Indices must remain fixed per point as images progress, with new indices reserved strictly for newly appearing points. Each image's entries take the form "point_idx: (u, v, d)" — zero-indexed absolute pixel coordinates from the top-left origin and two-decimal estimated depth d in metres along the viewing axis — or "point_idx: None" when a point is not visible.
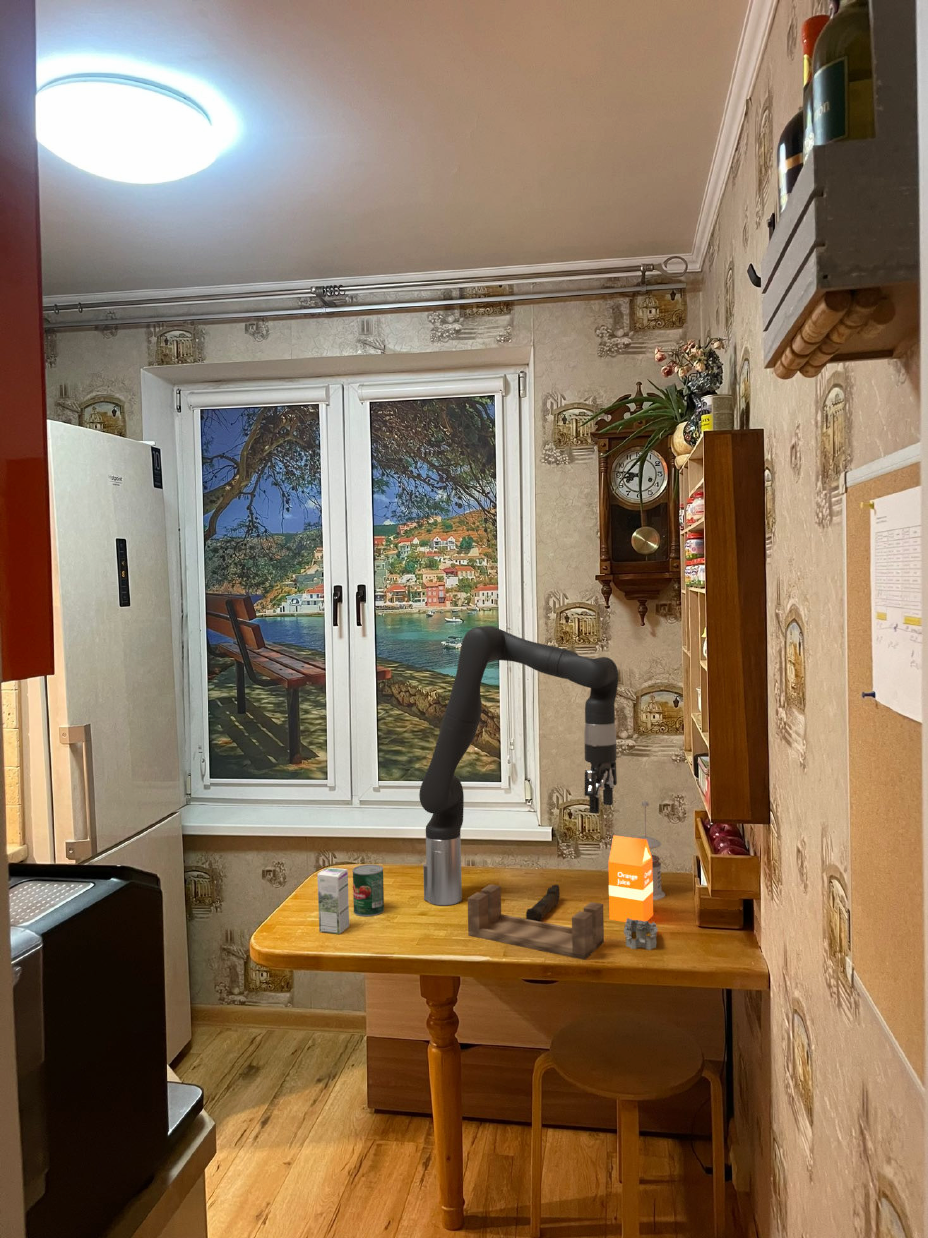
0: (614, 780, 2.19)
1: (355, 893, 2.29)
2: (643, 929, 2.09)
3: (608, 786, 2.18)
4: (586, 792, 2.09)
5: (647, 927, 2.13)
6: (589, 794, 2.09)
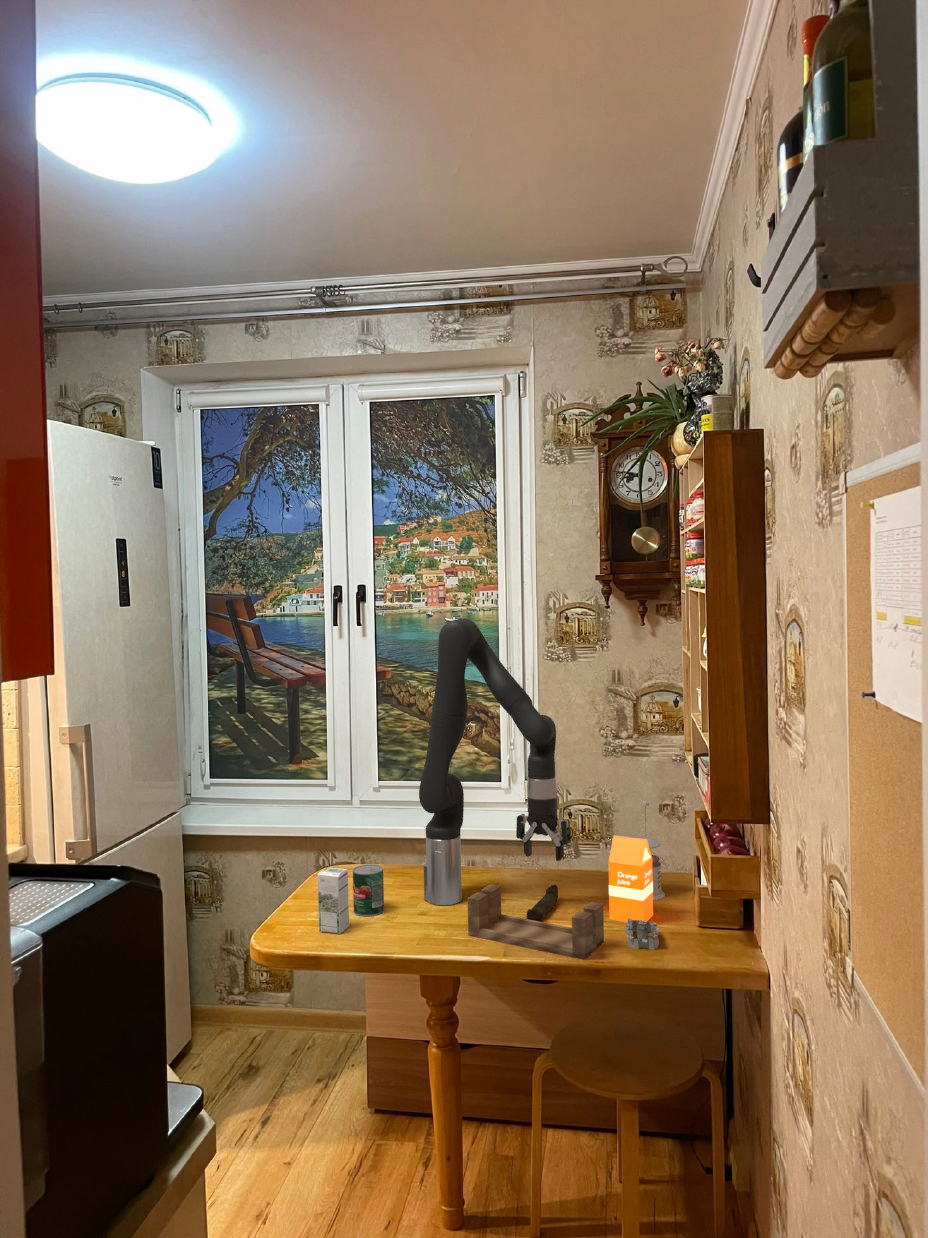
0: (524, 831, 2.32)
1: (355, 893, 2.29)
2: (644, 929, 2.09)
3: (529, 838, 2.31)
4: (567, 841, 2.24)
5: (648, 927, 2.13)
6: (568, 842, 2.25)
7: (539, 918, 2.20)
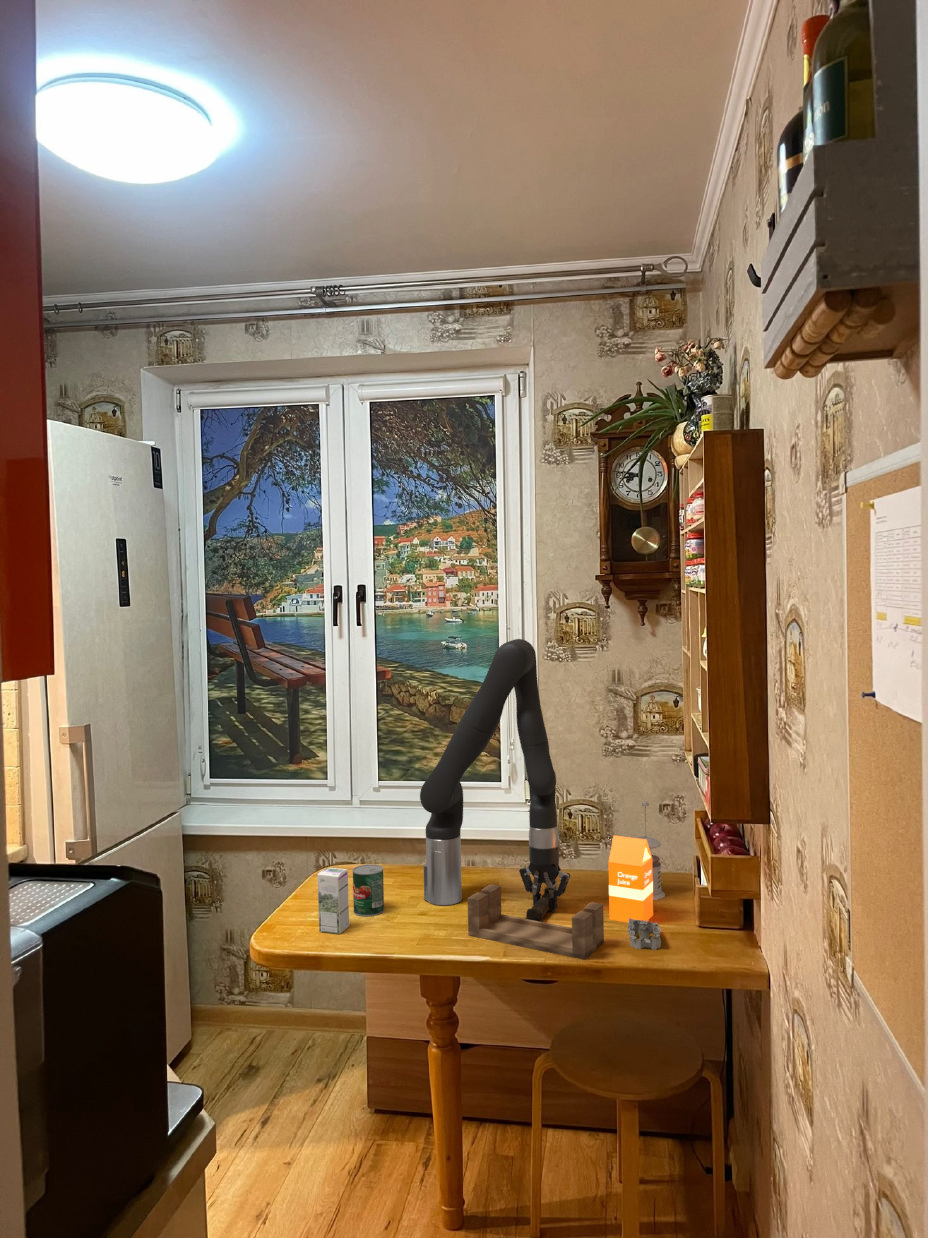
0: None
1: (355, 893, 2.29)
2: (646, 929, 2.09)
3: (538, 890, 2.30)
4: (561, 894, 2.26)
5: (649, 927, 2.14)
6: (562, 893, 2.27)
7: (539, 917, 2.20)
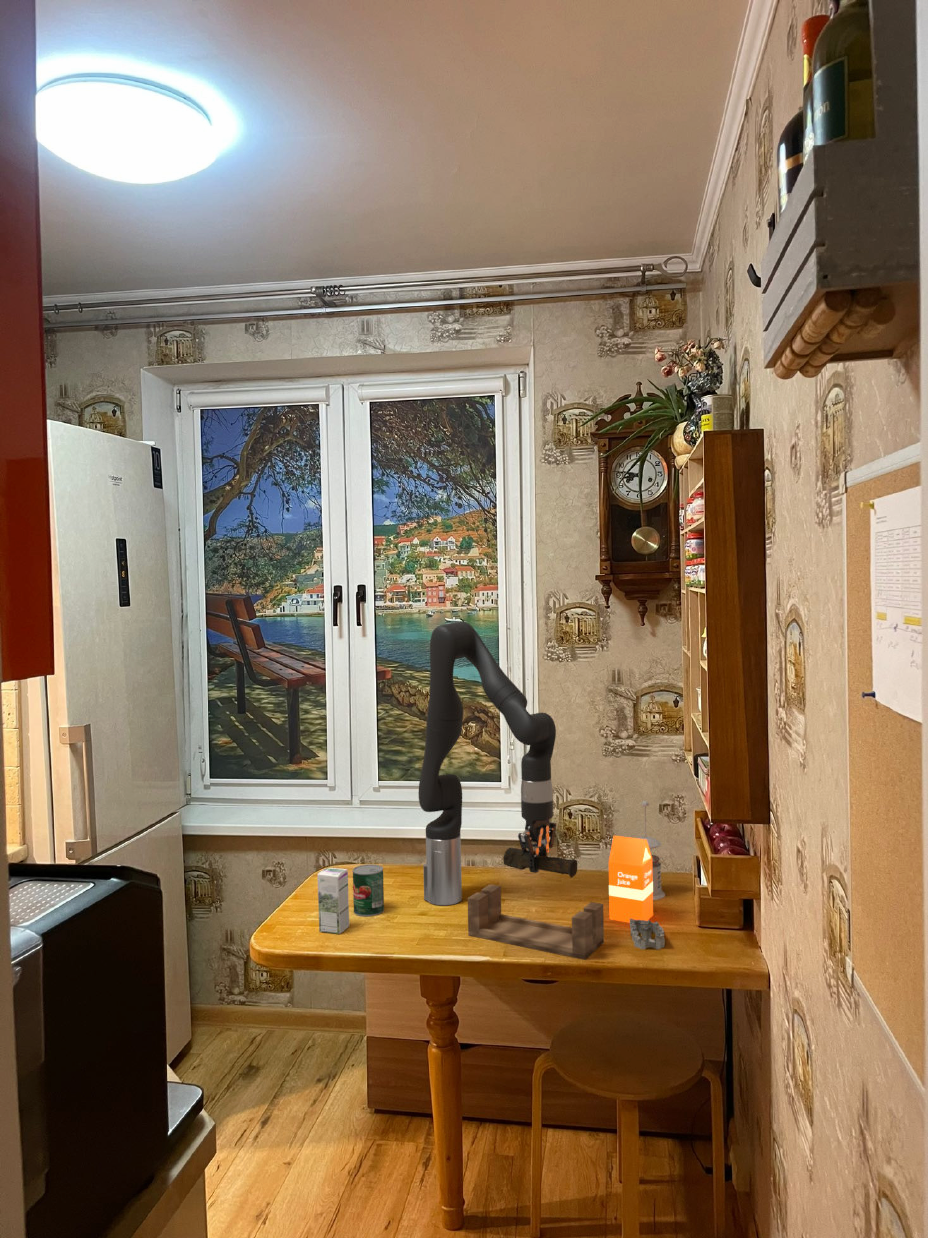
0: None
1: (355, 893, 2.29)
2: (649, 929, 2.09)
3: None
4: None
5: (650, 926, 2.14)
6: None
7: None
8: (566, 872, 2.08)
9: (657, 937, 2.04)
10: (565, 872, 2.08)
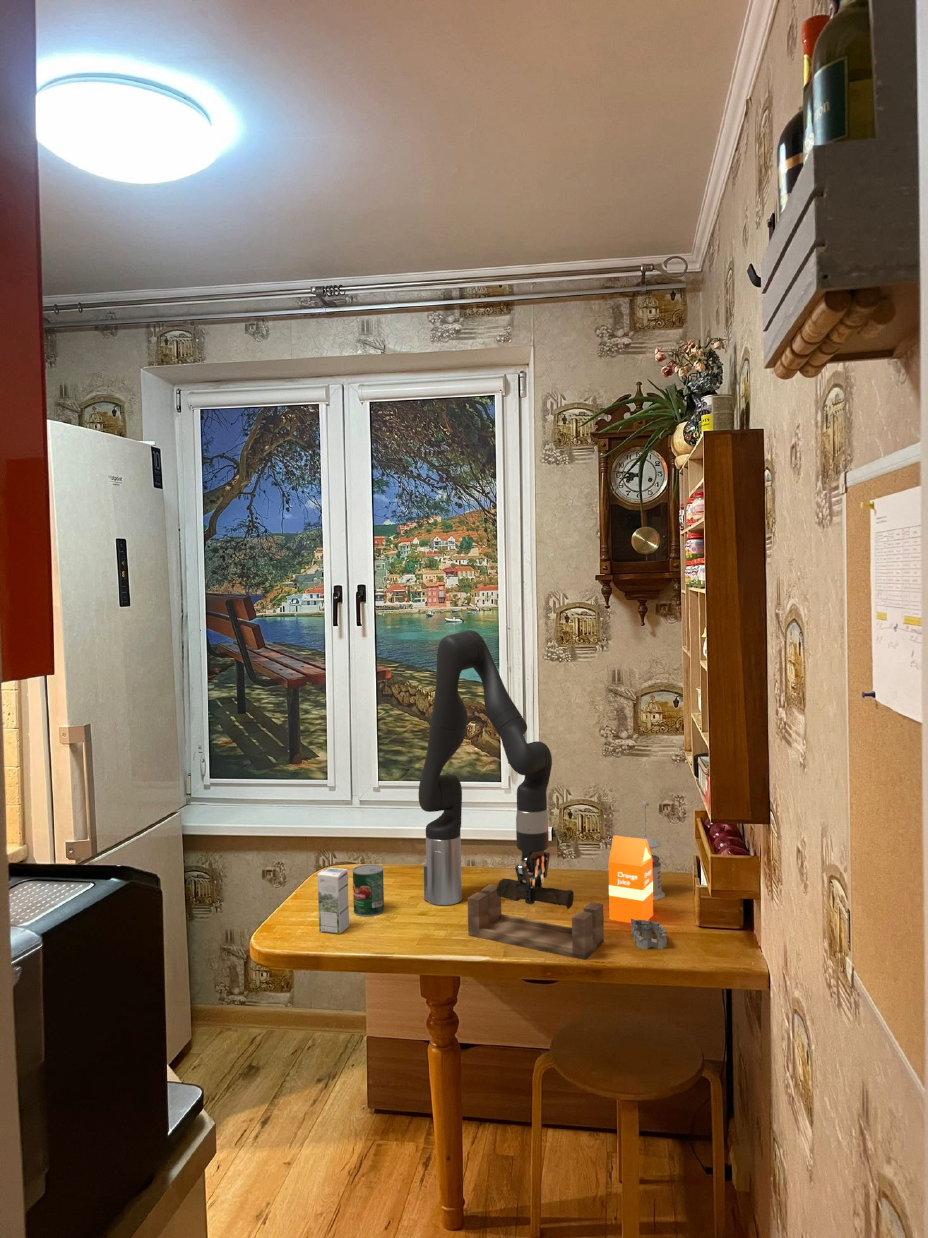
0: (522, 880, 2.08)
1: (355, 893, 2.29)
2: (650, 929, 2.09)
3: None
4: None
5: (650, 926, 2.14)
6: None
7: (573, 898, 2.08)
8: (563, 903, 2.06)
9: (659, 937, 2.04)
10: (562, 903, 2.06)
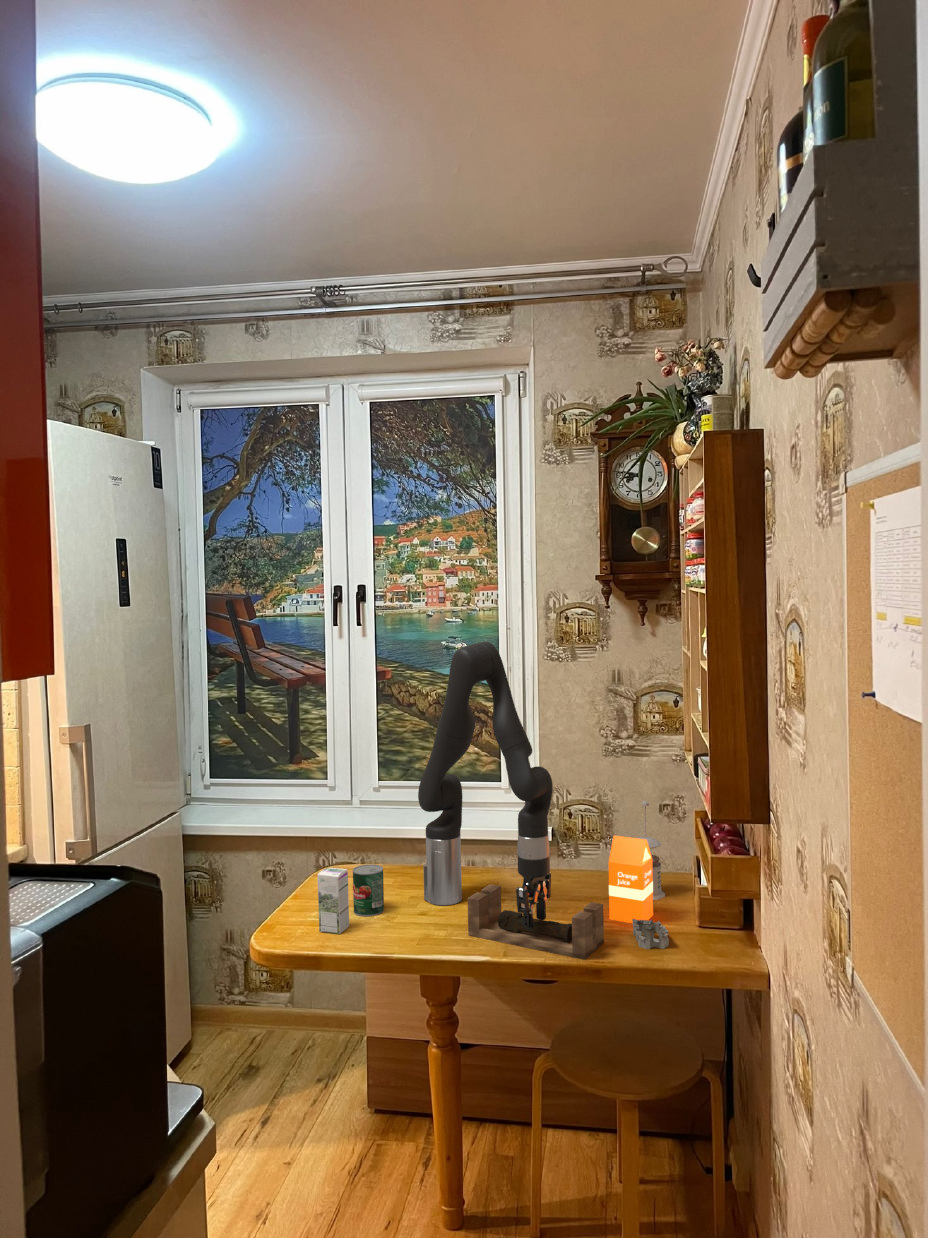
0: None
1: (355, 893, 2.29)
2: (652, 928, 2.09)
3: None
4: None
5: (652, 926, 2.14)
6: None
7: None
8: (563, 937, 2.06)
9: (661, 937, 2.04)
10: (562, 937, 2.06)
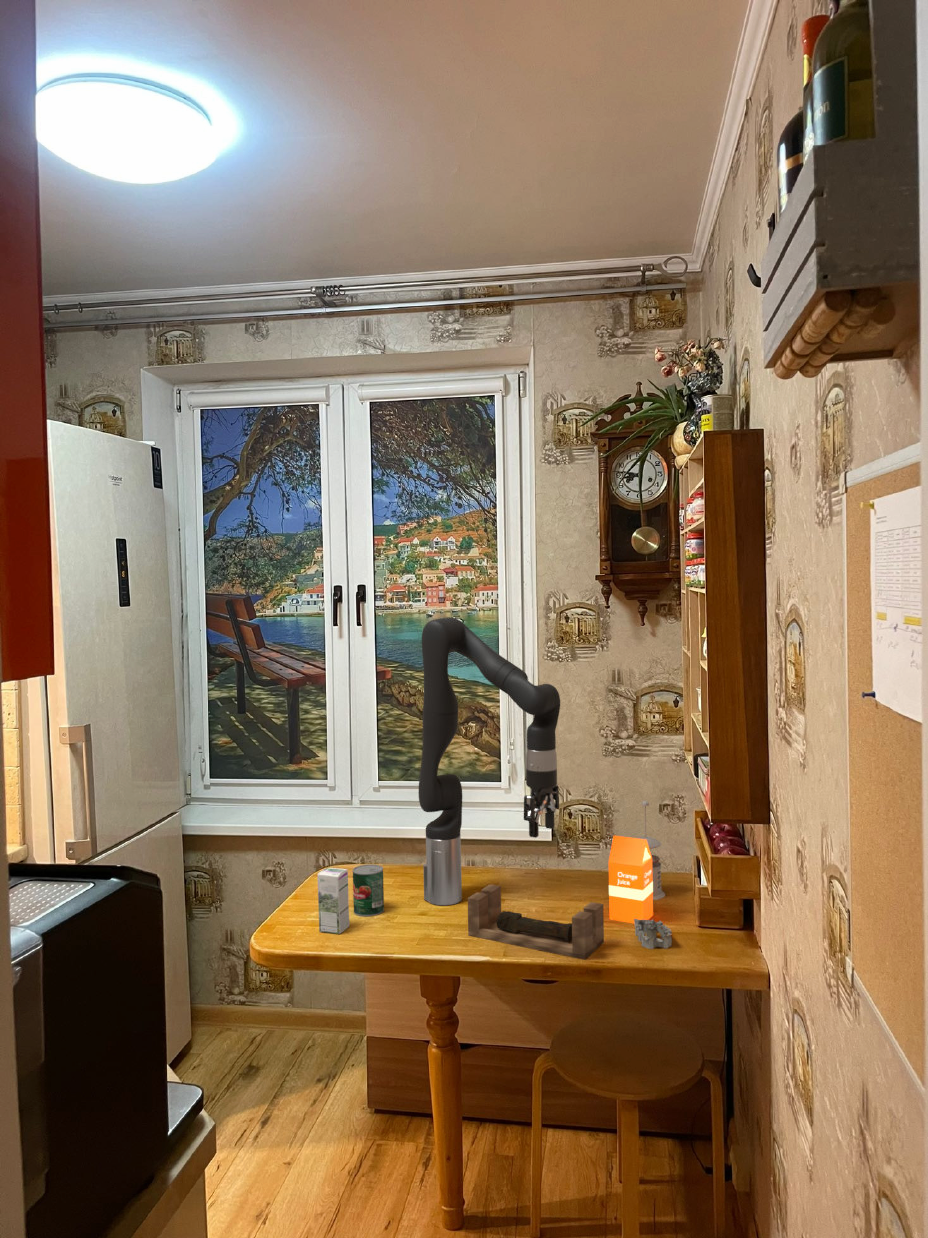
0: None
1: (355, 893, 2.29)
2: (654, 928, 2.10)
3: None
4: None
5: (653, 926, 2.14)
6: None
7: None
8: (563, 937, 2.06)
9: (665, 936, 2.04)
10: (562, 937, 2.06)
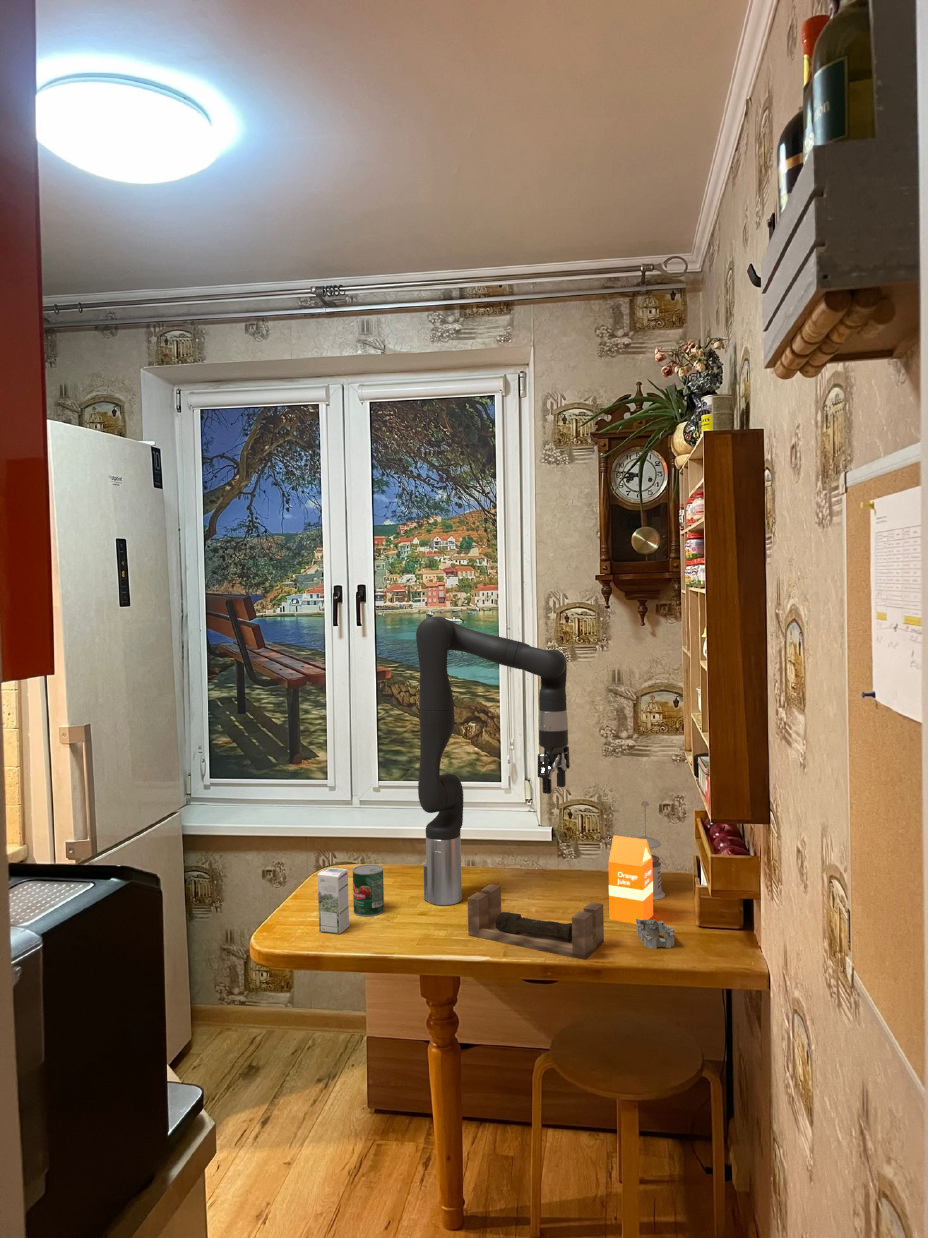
0: None
1: (355, 893, 2.29)
2: (656, 928, 2.10)
3: None
4: None
5: (655, 926, 2.14)
6: None
7: None
8: (564, 937, 2.06)
9: (667, 936, 2.04)
10: (563, 937, 2.06)
